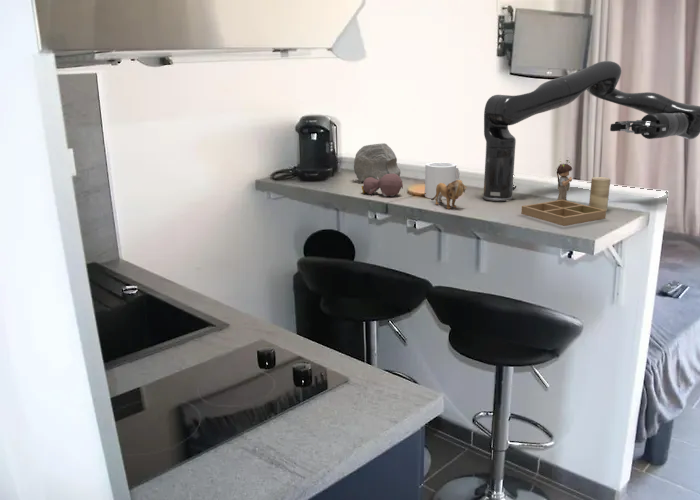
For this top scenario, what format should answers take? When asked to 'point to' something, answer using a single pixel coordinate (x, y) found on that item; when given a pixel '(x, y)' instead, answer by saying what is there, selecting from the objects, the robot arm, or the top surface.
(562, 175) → the toy
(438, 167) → the mug
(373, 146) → the stone
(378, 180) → the toy
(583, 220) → the wooden compartment tray
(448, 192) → the lion figurine
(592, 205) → the peg
